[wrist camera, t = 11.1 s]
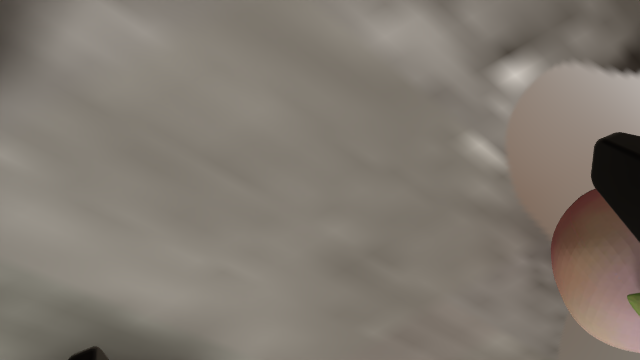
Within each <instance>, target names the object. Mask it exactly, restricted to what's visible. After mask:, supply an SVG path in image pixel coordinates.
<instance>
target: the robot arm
mask: <svg viewBox="0 0 640 360" xmlns="http://www.w3.org/2000/svg"><path fill="white" fill-rule="evenodd" d="M591 178H592V182H593V185H594V186H595V188H596V190H597V191H598V192H599V193H600V195H601V196H602V197H603V198H604V200H605V201H606V202H607V203H608V204H609V206H610V207H611V208H612V209H613V211H614V212H615V213H616V214H617V216H618V217H619V218H620V219H621V220H622V222H623V223H624V224H625V225H626V227H627V228H628V229H629V230H630V232H631V233H632V234H633V235H634V236H635V238H636V239H637V240H638V241H639V242H640V136H636V135H631V134H627V133H622V132H618V133H613V134H611V135H609V136H606V137H604V138H601V139H599V140H598V141H597V142H596V144H595V146H594V154H593V162H592V170H591ZM68 360H109V359H108V358H107V357H106V355H105V354H104V352H103V351H102V350H101V349H100V348H99V347H97V346H93V347H90V348H88V349H85V350H83V351H81V352H78V353H76V354H74V355H72V356H71V357H70V358H69V359H68Z"/></svg>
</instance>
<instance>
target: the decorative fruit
mask: <svg viewBox="0 0 640 360" xmlns="http://www.w3.org/2000/svg"><path fill="white" fill-rule="evenodd" d="M551 259H552V269H553V273H554V277H555V281H556V284H557V286H558V289H559V292H560V294H561V296H562V299H563V301H564V303H565V305H566V306H567V308H568V310H569V312H570V313H571V315H572V316H573V317H574V318H575V320H576V321H577V322H578V323H579V325H580V326H581V327H582V328H584V329H585V330H586V331H587V332H588V333H589V334H591V335H592V336H594V337H595V338H597V339H598V340H600V341H602V342H604V343H606V344H609V345H611V346H614V347H617V348H619V349H623V350H627V351H632V352H640V242H639V241H638V240H637V239H636V238H635V236H634V235H633V234H632V233H631V232H630V230H629V229H628V228H627V227H626V225H625V224H624V223H623V222H622V220H621V219H620V218H619V217H618V216H617V214H616V213H615V212H614V211H613V209H612V208H611V207H610V206H609V204H608V203H607V202H606V201H605V200H604V198H603V197H602V196H601V195H600V193H599V192H598V191H597V190H596V189H594V190H591V191H589V192H587V193H586V194H584V195H582V196H581V197H580V198H578V199H577V200H576V201H575V202H574V203H573V204H572V205H571V206H570V207H569V208H568V209H567V211H566V212H565V213H564V215H563V216H562V218H561V219H560V221H559V223H558V225H557V227H556V229H555V231H554V234H553V238H552V244H551Z"/></svg>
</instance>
